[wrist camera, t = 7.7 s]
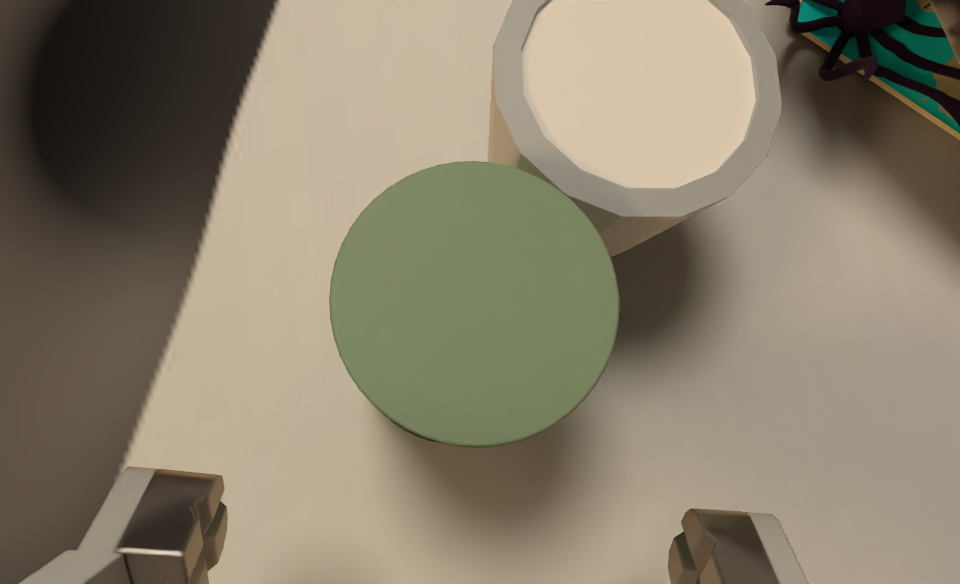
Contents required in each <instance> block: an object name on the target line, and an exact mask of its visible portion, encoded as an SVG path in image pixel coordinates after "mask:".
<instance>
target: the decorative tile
mask: <svg viewBox="0 0 960 584" xmlns="http://www.w3.org/2000/svg"><path fill="white" fill-rule="evenodd" d="M929 1H930V3H931V5H932V7H933V10H934V12H935V14H936V16H937V18H938V20H939V22H940V24H941V26H942V28H943V30H944V32H945V34H946V36H947V38H948V40H949V43H950V45H951V48H952V50H953V53H954V55H955V57H956V59H957V61H958V63H959V65H960V0H929Z"/></svg>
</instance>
